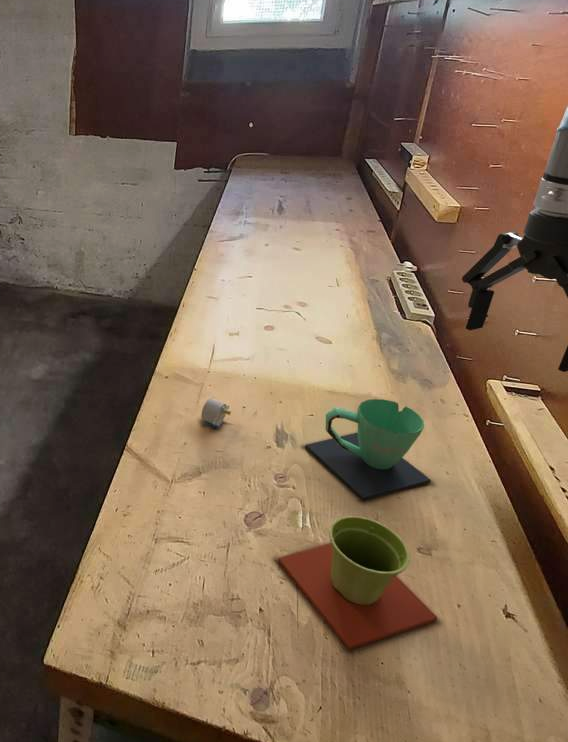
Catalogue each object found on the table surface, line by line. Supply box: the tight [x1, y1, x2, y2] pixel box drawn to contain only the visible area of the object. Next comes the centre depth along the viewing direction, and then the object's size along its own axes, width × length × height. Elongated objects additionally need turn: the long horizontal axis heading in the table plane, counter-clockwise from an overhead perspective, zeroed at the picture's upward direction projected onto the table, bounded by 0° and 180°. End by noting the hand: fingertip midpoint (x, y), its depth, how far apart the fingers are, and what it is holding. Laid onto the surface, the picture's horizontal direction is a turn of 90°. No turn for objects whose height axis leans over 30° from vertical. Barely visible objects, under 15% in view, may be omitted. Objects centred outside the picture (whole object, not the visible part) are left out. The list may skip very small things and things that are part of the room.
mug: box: [324, 398, 425, 470], centre depth 100 cm, size 15×10×10 cm
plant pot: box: [329, 515, 411, 605], centre depth 77 cm, size 9×9×9 cm
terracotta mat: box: [277, 542, 438, 650], centre depth 79 cm, size 14×14×1 cm
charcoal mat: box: [305, 432, 432, 501], centre depth 101 cm, size 14×14×1 cm
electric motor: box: [200, 397, 232, 429], centre depth 112 cm, size 7×5×5 cm
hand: (517, 347), depth 86 cm, fingers open, 13 cm apart
